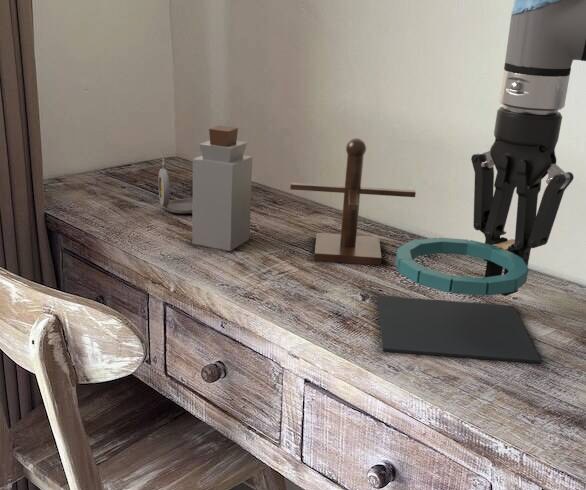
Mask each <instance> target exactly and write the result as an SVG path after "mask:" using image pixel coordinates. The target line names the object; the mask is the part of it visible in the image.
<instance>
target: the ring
mask: <svg viewBox="0 0 586 490" xmlns="http://www.w3.org/2000/svg"><path fill="white" fill-rule="evenodd" d="M511 244H515V238H511V239H508V240H507V241H504V242H501V243H497V244H494V245H490V244H486V243H485V242H482V241H476V240H473V239H464V238H453V237H452V238H451V237H429V238H419V239H413V240H410V241H407V242H406V243H404V244H402V245H401V246H399V247H397V249H396V254H395V255H396V256H395V264H396V269H397V272H398V273H399V274H400V275H402V276H403V277H405V278H406V279H408V280H409V281H411V282H413V283H414V284H416V285H417V284H418V285H420V286H422V287H427V288H430V289H434V290H436V291H442V292H445V293H448V294H449V293H451V294H454V295H455V294H456V295H457V294H458V295H469V296H470V295H471V296H481V297H483V296H484V297H485V296H487V297H489V296H495V295H501V294H503V293H509V292H514V291H516V290H517V289H518V290H519V289H520V288H521V287H522V286H523V285H525V284H526V283H527V281H528V275H529V266H528V267H527V265H526V264H525V262H524V260H523V259H522V258H521V257H519V256H517V255H515V254H513V253H511V252H509V251H508V247H509V246H511ZM436 254H448V255H463V256H468V257H473V258H477V259H481V260H483V259H485V260H489V261H492V262H494V263H496V264H498V265H500V266H502V267H503V269H504V270H505V269H507V270H508V273H506V274H505V275H504V274H502V275H499V276H492V277H485V276H484V277H479V276H478V277H475V276H462V275H461V276H460V275H453V274H449V273H445V272H443V271H442V272H441V271H437V270H434V269H430V268H427V267H426V266H424V265H422V264H421V263H419V262H417V261H415V259H417V258H419V257H421V256H428V255H436Z"/></svg>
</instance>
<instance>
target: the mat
mask: <svg viewBox="0 0 586 490" xmlns="http://www.w3.org/2000/svg"><path fill="white" fill-rule="evenodd" d="M377 307H378V317H379V326H380V334H381V336H380V337H381V346H382V352H390V353H401V354H415V355H426V356H439V357H451V358H466V359H475V360H489V361H490V360H491V361H504V362H516V363H528V364H529V363H530V364H541V359H540V356H539V354H538V352H537V350H536V348H535V346H534V344H533V342H532V340H531V338H530V336H529V334H528V332H527V330H526V327H525V326H524V324H523V322H522V320H521V318H520V316H519V313H518V312H517V310H516V307H515V305H509V304H495V303H494V304H493V303H480V302H479V303H478V302H467V301H452V300H438V299H425V298H414V297H413V298H412V297H399V296H385V295H384V296H383V295H377Z"/></svg>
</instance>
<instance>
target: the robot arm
mask: <svg viewBox="0 0 586 490" xmlns="http://www.w3.org/2000/svg"><path fill="white" fill-rule="evenodd" d="M505 51H506V52H505V59H504V67H503V73H502V78H501V85H500V86H501V87H500V92H499V99H498V100H499V103H500V105H502V106H501V107H499V108H498V109H497V110H496V117H495V123H494V129H493V136H494V137H495V139H494V142H493V144H491V146H490V149H489V150H488V151H484V152H480V153H475V154H474V153H473V154H472V156H471V163H472V167H473V171H474V189H473V190H474V191H473V193H474V194H473V229H474V230H475V231H479V232H481V233H482V234H483V235H484V237H485V240H484V243H486V244H490V245H494V244H497V243H501V242H504V241H507V240H509V238H507V237H504V235H506V234H507V231H505V227H506V224H507V219H508V215H509V212H510V208H511V205H512V201H513V197H514V193H515V192H516V194H517V207H516V218H515V219H516V221H515V233H514V240H515V244H511V246H509V247H508V251H509V252H511V253H513V254H515V255H517V256H519V257H521V258H522V259H523V260H524V262H525V264H526V265H527V267H528V268H529V260H530V257H531V249H536V248H539V247H542V246H546V245H547V244H548V240H549V239H550V235H551V233H552V229H553V226H554V223H555V221H556V218H557V214H558V211H559V209H560V204H561V202H562V199H563V196H564V193H565V191H566V190H567V189H568V187H569V186H570V184H571V183H572V182H573V180H574V174H573V172H571V171H566V172H565V170H563V169H562V168H561V167H560V166H559V165H558V164H557V157H556V147H557V144H558V142H559V137H560V131H561V126H562V122H563V121H562V120H563V115H562V113H561V112H560V111H561V110H562V109H563V108H565V105H566V99H567V94H568V88H569V82H570V76H571V71H572V64H573V62H574V61H581V62H586V0H514V1H513V6H512V10H511V16H510V22H509V29H508V36H507V45H506V50H505ZM494 169H496V176H495V170H494ZM547 175H548V176H547ZM546 176H547V179H546V181H545V183H546V184H547V185H546V186H545V188H544V191H543V194H542V197H541V200H540V203H539V207H538V201H539V200H538V199H539V194H540V192H541V188H542V180H543V179H544V178H545V177H546ZM494 188H495V189H494ZM515 189H516V190H515ZM501 236H502V237H501ZM482 260H483V261H484V262H486V266H485V272H484V278H485V277H492V276H499V275H505V274H506V273H508V270H507V269H505V268H503V267H502V266H500V265H498V264H496V263H494V262H492V261H489V260H485V259H482ZM503 270H504V271H503ZM518 291H519V289H517V290H516V291H514V292H509V293H503V294H500V295H501V296H504V297H508V296H510V295H513V294H515V293H518Z"/></svg>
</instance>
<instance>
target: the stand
mask: <svg viewBox="0 0 586 490" xmlns="http://www.w3.org/2000/svg"><path fill="white" fill-rule="evenodd" d="M345 151H346V167H345V178H344V179H345V180H344V185H335V184H321V183H320V184H319V183H306V182H305V183H303V182H302V183H301V182H290V188H289V189H290V190H292V191H293V190H294V191H306V192H307V191H308V192H322V193H323V192H324V193H325V192H326V193H340V194H341V193H342V194H343V205H342V216H341V227H340V229H341V231H340V233H328V232H326V233H325V232H316V236H315V238H316V239H315V245H314V258H313V261H314V262H328V263H329V262H330V263H341V264H343V263H344V264H354V265H355V264H356V265H357V264H358V265H371V266H381V265H382V259H383V258H382V251H381V243H380V237H379V236H372V235H358V224H359V211H360V200H361V195H370V196H371V195H372V196H387V197H403V198H404V197H406V198H416V195H417V194H416V190H414V189H398V188H384V187H383V188H381V187H367V186H362V177H363V165H364V157H365V156H364V155H365V153H366V151H367V144H366V143H365V141H364V140H363V139H362V138H359V137H353V138H351V139H349V140H348V142H346V145H345Z"/></svg>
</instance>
